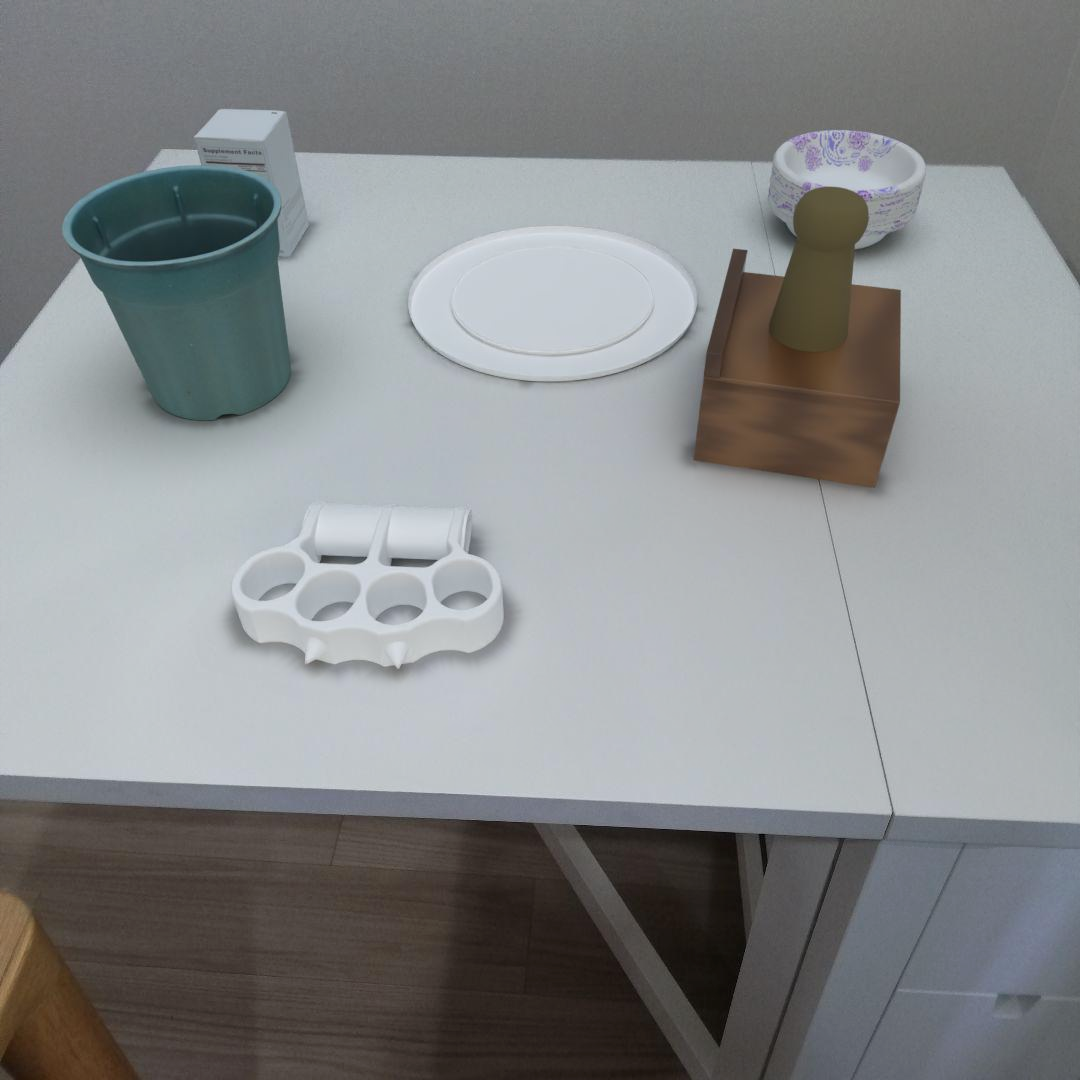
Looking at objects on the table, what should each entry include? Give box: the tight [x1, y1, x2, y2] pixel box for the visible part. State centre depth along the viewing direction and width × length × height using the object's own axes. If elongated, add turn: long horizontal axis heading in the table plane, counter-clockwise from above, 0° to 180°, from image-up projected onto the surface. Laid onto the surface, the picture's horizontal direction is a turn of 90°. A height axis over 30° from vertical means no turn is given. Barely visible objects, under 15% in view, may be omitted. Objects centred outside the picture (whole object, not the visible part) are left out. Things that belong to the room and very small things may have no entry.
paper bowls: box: [767, 129, 927, 251], centre depth 102 cm, size 15×15×8 cm
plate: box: [407, 225, 698, 382], centre depth 95 cm, size 28×28×1 cm
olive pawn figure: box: [769, 187, 869, 352], centre depth 72 cm, size 6×6×11 cm
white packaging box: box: [193, 108, 310, 258], centre depth 101 cm, size 7×7×13 cm
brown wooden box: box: [693, 248, 902, 489], centre depth 78 cm, size 14×16×10 cm
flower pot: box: [61, 164, 292, 421], centre depth 81 cm, size 16×16×16 cm
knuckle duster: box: [230, 500, 505, 670], centre depth 67 cm, size 3×18×15 cm
